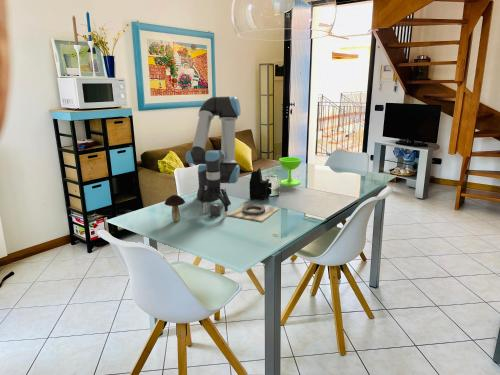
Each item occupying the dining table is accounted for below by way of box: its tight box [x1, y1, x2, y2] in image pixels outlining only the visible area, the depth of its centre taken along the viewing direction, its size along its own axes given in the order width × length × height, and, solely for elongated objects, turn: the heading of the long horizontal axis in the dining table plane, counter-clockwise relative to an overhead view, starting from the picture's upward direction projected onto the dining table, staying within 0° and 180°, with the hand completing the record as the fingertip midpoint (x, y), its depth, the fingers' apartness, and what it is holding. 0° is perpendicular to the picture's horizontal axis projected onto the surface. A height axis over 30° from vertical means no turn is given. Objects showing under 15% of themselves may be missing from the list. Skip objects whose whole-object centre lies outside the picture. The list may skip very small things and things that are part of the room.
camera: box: [248, 166, 273, 201], centre depth 229 cm, size 10×14×20 cm
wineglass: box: [278, 156, 302, 187], centre depth 263 cm, size 16×16×18 cm
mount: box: [227, 202, 280, 223], centre depth 207 cm, size 22×22×2 cm
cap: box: [209, 203, 222, 218], centre depth 203 cm, size 6×6×6 cm
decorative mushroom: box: [164, 194, 186, 222], centre depth 194 cm, size 11×11×15 cm
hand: (215, 214), depth 204 cm, fingers open, 13 cm apart
